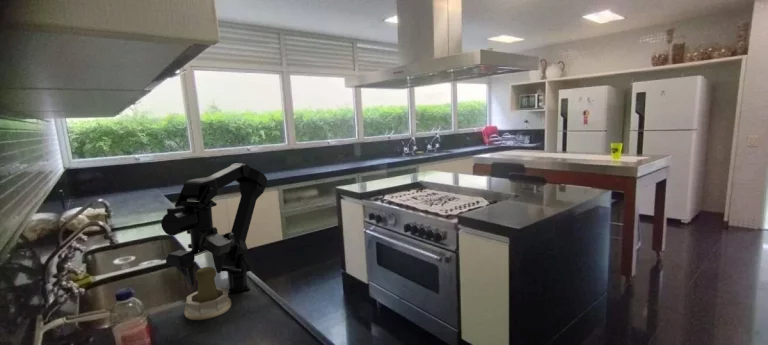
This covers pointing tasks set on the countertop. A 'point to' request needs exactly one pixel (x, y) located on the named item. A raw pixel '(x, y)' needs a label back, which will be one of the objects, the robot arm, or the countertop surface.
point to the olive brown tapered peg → (206, 284)
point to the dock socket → (207, 306)
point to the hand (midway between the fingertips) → (205, 279)
